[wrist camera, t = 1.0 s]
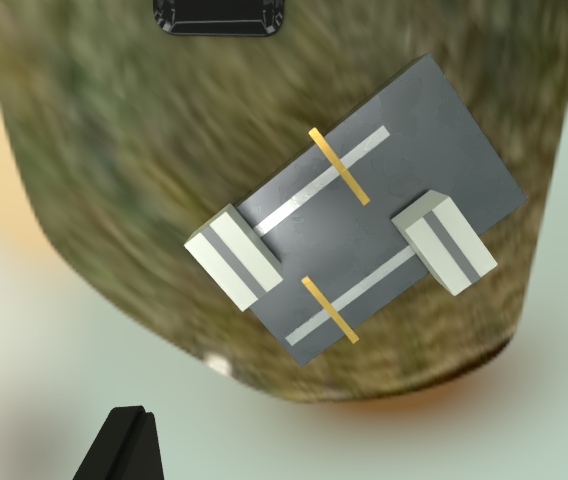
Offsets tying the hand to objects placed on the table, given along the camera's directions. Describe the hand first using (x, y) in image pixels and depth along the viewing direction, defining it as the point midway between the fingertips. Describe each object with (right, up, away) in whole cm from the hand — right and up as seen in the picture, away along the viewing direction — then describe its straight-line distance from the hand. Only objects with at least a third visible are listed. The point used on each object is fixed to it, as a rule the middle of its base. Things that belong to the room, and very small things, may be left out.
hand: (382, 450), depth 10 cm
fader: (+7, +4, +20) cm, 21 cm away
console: (+3, +6, +23) cm, 24 cm away
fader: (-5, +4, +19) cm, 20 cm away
